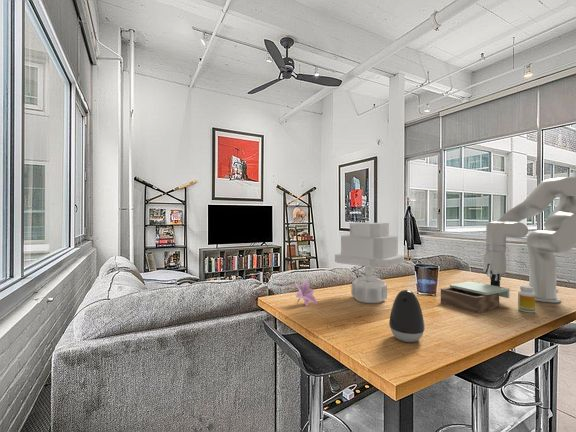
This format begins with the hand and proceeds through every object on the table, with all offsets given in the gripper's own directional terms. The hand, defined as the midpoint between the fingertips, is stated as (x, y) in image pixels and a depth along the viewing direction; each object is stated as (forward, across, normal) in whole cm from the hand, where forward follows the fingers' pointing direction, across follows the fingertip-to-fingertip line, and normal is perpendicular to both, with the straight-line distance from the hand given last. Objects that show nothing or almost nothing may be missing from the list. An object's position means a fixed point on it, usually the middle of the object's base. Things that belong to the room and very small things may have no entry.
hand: (495, 288), depth 138 cm
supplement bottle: (+5, +6, +15) cm, 17 cm away
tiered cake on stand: (+6, +52, -26) cm, 58 cm away
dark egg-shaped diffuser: (+6, +72, +14) cm, 73 cm away
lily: (+7, +81, -33) cm, 88 cm away
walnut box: (+5, +19, 0) cm, 20 cm away
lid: (+2, +13, 0) cm, 13 cm away
